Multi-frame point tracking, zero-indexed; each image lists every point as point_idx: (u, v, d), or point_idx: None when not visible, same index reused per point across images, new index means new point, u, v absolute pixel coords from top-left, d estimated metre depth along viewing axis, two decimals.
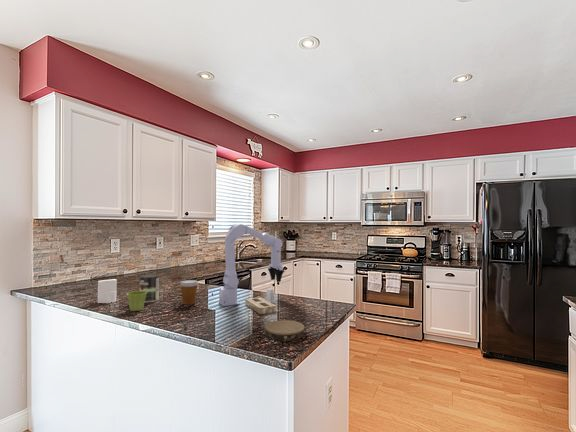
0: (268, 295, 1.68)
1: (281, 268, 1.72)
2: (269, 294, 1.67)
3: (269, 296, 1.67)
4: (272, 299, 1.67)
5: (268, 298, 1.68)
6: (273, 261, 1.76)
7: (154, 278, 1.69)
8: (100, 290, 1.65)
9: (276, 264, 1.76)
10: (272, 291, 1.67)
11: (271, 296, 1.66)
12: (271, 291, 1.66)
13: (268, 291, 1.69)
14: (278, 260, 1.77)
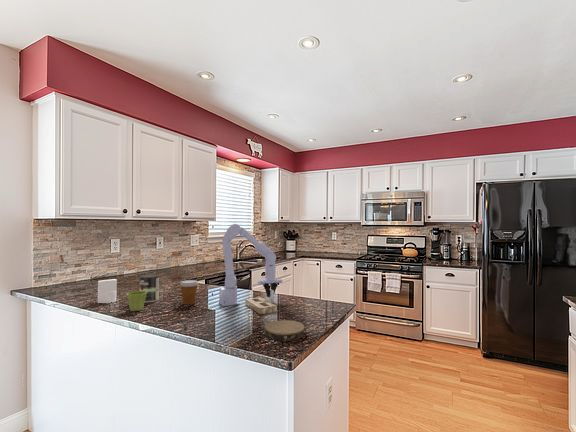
0: None
1: (258, 283, 1.65)
2: None
3: None
4: (272, 299, 1.67)
5: (268, 298, 1.68)
6: None
7: (154, 278, 1.69)
8: (100, 290, 1.65)
9: (265, 278, 1.69)
10: (272, 291, 1.67)
11: (271, 296, 1.66)
12: (271, 291, 1.66)
13: None
14: (266, 275, 1.67)
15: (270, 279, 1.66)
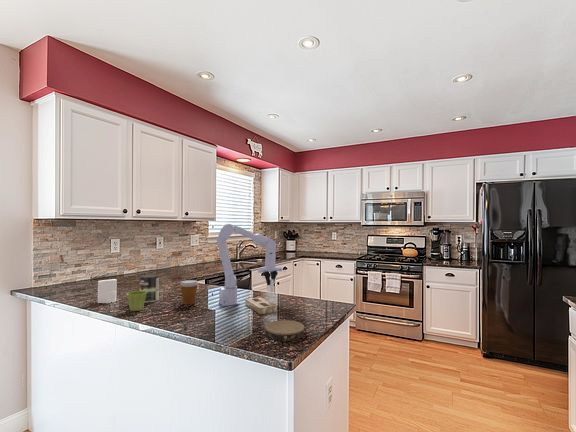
0: None
1: (258, 270, 1.66)
2: None
3: (269, 285, 1.67)
4: (272, 288, 1.67)
5: (268, 287, 1.69)
6: None
7: (154, 278, 1.69)
8: (100, 290, 1.65)
9: (265, 266, 1.69)
10: (272, 280, 1.67)
11: (271, 286, 1.67)
12: (271, 280, 1.67)
13: None
14: (266, 263, 1.68)
15: (270, 267, 1.66)
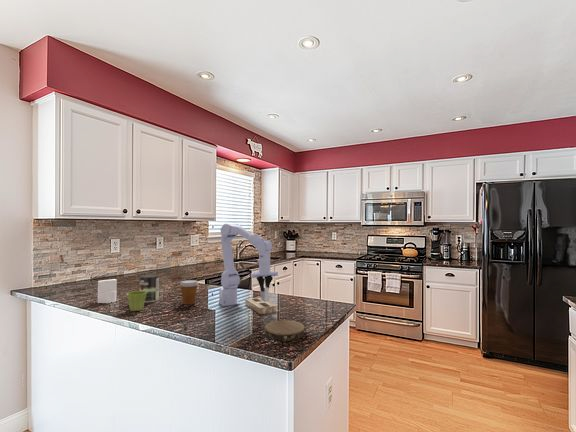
0: (262, 293, 1.51)
1: (251, 275, 1.49)
2: (263, 292, 1.50)
3: (263, 294, 1.50)
4: (266, 297, 1.50)
5: (262, 296, 1.51)
6: None
7: (154, 278, 1.69)
8: (100, 290, 1.65)
9: (259, 271, 1.52)
10: (266, 289, 1.50)
11: (265, 295, 1.49)
12: (265, 289, 1.49)
13: None
14: (259, 266, 1.51)
15: (264, 271, 1.49)
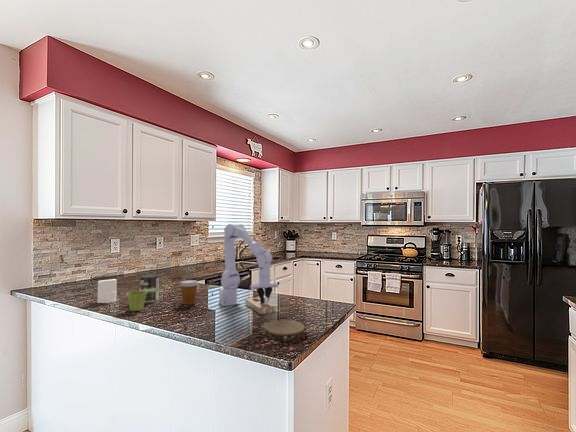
0: None
1: (251, 287, 1.48)
2: None
3: (263, 304, 1.50)
4: None
5: None
6: None
7: (154, 278, 1.69)
8: (100, 290, 1.65)
9: (259, 282, 1.51)
10: (266, 298, 1.50)
11: (265, 305, 1.49)
12: (265, 298, 1.49)
13: None
14: (259, 278, 1.50)
15: (264, 283, 1.49)
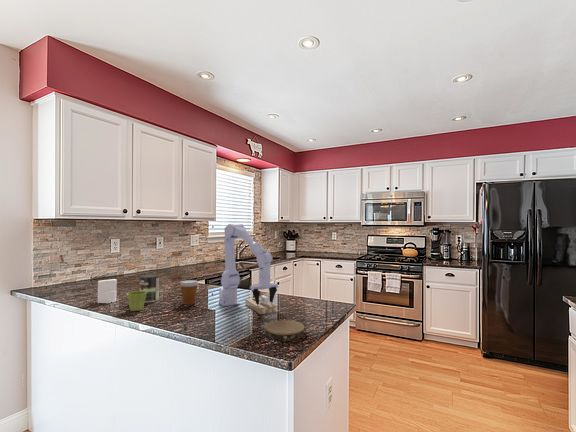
0: (262, 303, 1.51)
1: (251, 288, 1.48)
2: (263, 302, 1.50)
3: (263, 304, 1.50)
4: None
5: None
6: None
7: (154, 278, 1.69)
8: (100, 290, 1.65)
9: (259, 283, 1.51)
10: (266, 299, 1.50)
11: (265, 305, 1.49)
12: (265, 299, 1.49)
13: (262, 298, 1.52)
14: (259, 279, 1.50)
15: (264, 284, 1.49)
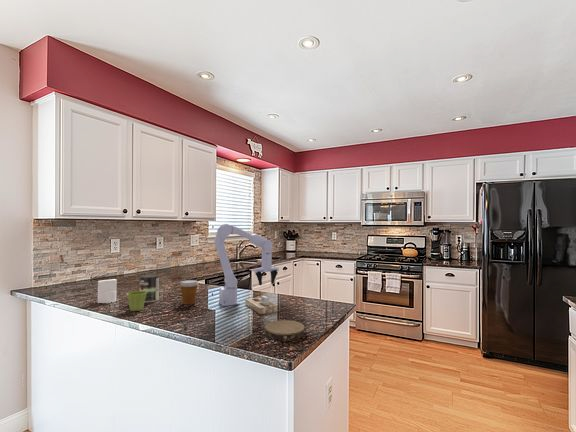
0: (262, 303, 1.51)
1: (254, 270, 1.68)
2: (263, 302, 1.50)
3: (263, 304, 1.50)
4: None
5: None
6: None
7: (154, 278, 1.69)
8: (100, 290, 1.65)
9: None
10: (266, 298, 1.50)
11: (265, 305, 1.49)
12: (265, 298, 1.49)
13: (262, 298, 1.52)
14: (262, 263, 1.70)
15: (266, 267, 1.69)
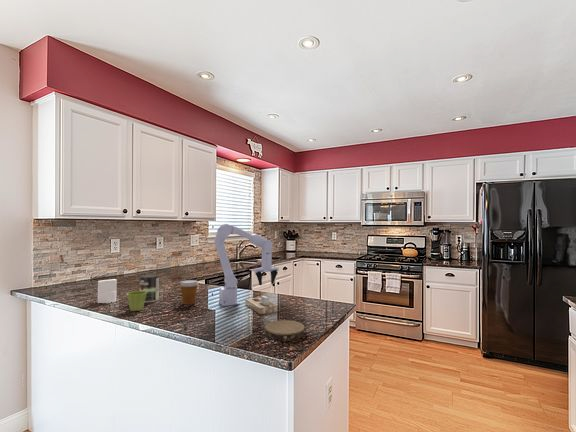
0: (262, 303, 1.51)
1: (254, 270, 1.68)
2: (263, 302, 1.50)
3: (263, 304, 1.50)
4: None
5: None
6: None
7: (154, 278, 1.69)
8: (100, 290, 1.65)
9: None
10: (266, 299, 1.50)
11: (265, 305, 1.49)
12: (265, 299, 1.49)
13: (262, 298, 1.52)
14: (262, 263, 1.70)
15: (266, 267, 1.69)
